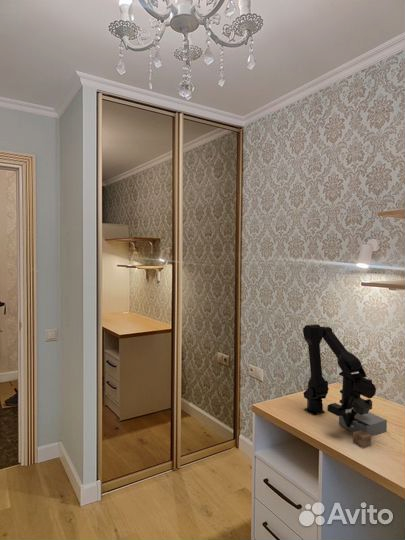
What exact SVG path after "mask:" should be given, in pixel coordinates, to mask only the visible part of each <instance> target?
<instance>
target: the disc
mask: <svg viewBox="0 0 405 540" xmlns="http://www.w3.org/2000/svg"><path fill="white" fill-rule="evenodd" d="M353 421H355V422H357V423H359V424H361V425H363V426H367V425H366V424H364V423H362V422H360V421H358V420H356V419H353Z"/></svg>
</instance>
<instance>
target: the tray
mask: <svg viewBox="0 0 405 540" xmlns="http://www.w3.org/2000/svg"><path fill="white" fill-rule="evenodd" d="M338 425H339V426H341V427H343V428H345V429H346V430H348V431H351V432H352V433H353V432H356V431H360V430H362V431H364V432H366V427H365V426H363V425H361V424H359V423H357V422H355V421H352V424H351V426H350V428H348V427H347V426H346V424H345V421H344V419H343V417H342V416H338Z"/></svg>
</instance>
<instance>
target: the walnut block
mask: <svg viewBox="0 0 405 540" xmlns="http://www.w3.org/2000/svg"><path fill="white" fill-rule="evenodd" d="M352 443H353V444H354V445H356V446H357V447H359V448H361V449H365V448H367V447H370V446H372V436H371V435H370V434H368V433H366V432H364V431H362V430H360V431H356V432H352Z"/></svg>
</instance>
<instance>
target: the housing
mask: <svg viewBox="0 0 405 540" xmlns="http://www.w3.org/2000/svg"><path fill="white" fill-rule="evenodd" d="M354 419H356V420H358V421H360V422H362V423H364V424H366V425H367V426H365V427H366V433H368V434H370V435H371V437H373V436H376V435H378V434H382V433H385V432H387V427H388V426H387V425H388V424H387V423H388V420H387V419H386V418H383V417H381V416H379V415H376V414H374V413H373V412H370V411H369V412H368V414H363V415H360V414H356V415H355V417H354Z"/></svg>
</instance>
